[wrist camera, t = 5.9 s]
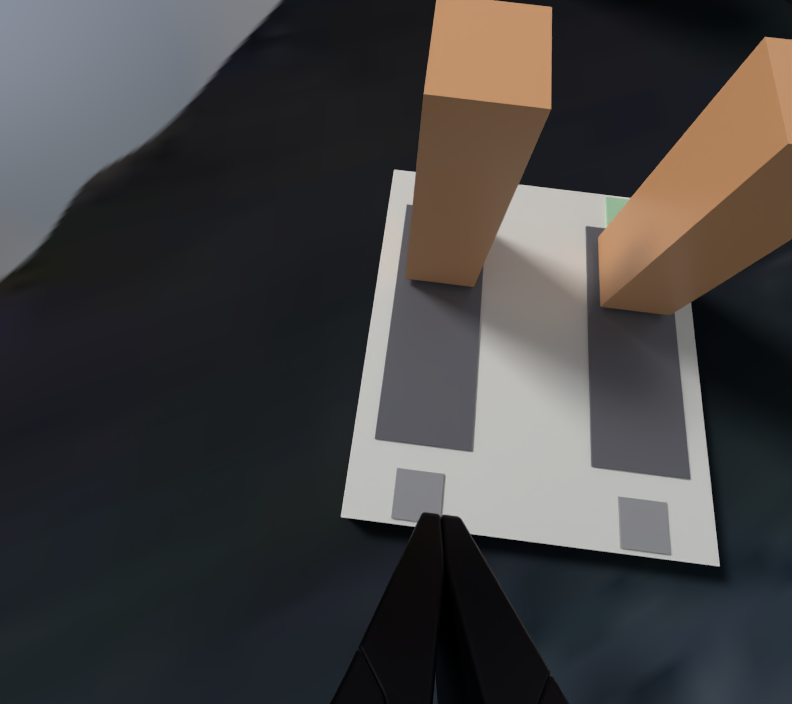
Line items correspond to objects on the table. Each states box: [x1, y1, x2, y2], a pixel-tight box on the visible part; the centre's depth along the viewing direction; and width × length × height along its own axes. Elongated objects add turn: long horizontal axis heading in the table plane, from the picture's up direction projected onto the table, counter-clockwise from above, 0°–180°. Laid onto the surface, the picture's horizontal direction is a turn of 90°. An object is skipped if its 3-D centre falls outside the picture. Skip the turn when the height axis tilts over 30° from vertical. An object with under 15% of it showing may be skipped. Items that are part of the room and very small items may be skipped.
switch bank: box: [341, 170, 720, 567], centre depth 19 cm, size 16×14×1 cm
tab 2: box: [598, 37, 792, 315], centre depth 15 cm, size 4×3×9 cm
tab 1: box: [405, 0, 552, 287], centre depth 15 cm, size 4×3×9 cm
